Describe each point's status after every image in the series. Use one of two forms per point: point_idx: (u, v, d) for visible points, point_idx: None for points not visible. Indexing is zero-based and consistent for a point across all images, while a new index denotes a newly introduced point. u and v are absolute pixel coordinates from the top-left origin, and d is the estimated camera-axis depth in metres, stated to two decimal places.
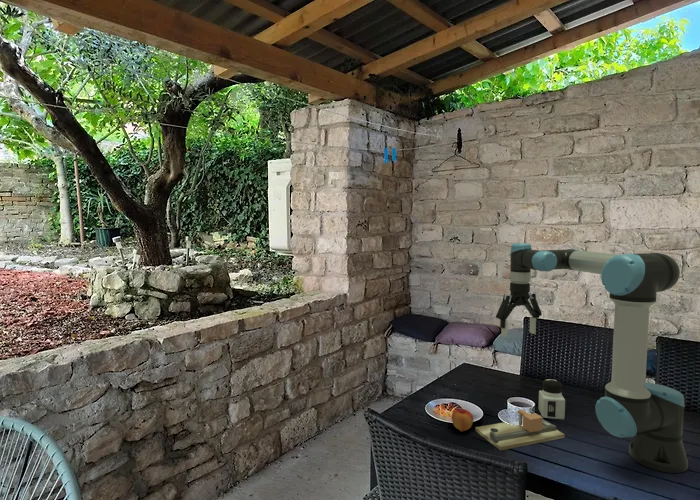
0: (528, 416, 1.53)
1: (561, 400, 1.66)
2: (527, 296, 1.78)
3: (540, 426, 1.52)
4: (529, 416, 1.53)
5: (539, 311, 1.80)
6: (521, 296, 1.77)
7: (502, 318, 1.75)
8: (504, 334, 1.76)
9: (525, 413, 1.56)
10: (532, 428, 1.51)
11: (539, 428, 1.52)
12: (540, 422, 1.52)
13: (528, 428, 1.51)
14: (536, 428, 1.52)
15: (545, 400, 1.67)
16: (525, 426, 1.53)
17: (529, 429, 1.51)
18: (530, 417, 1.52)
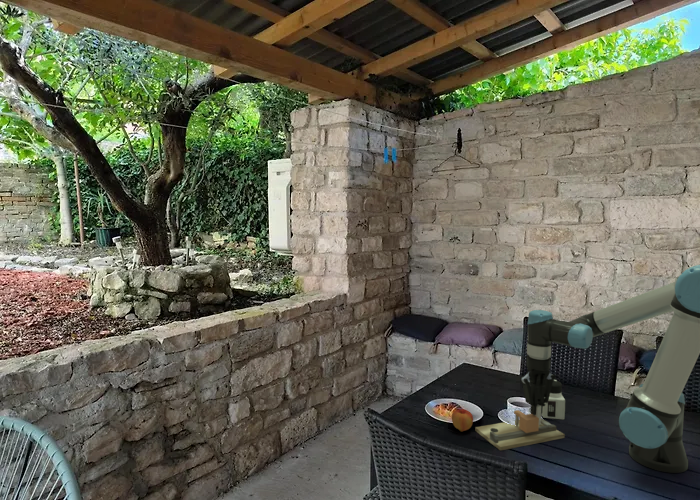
0: (524, 417, 1.52)
1: (561, 400, 1.66)
2: (547, 372, 1.52)
3: (536, 427, 1.52)
4: (525, 417, 1.52)
5: (547, 397, 1.53)
6: (540, 373, 1.51)
7: (533, 405, 1.52)
8: None
9: (521, 414, 1.56)
10: (528, 429, 1.50)
11: (536, 429, 1.52)
12: (536, 423, 1.51)
13: (525, 428, 1.51)
14: (532, 429, 1.51)
15: None
16: (521, 427, 1.52)
17: (525, 430, 1.51)
18: (526, 418, 1.52)
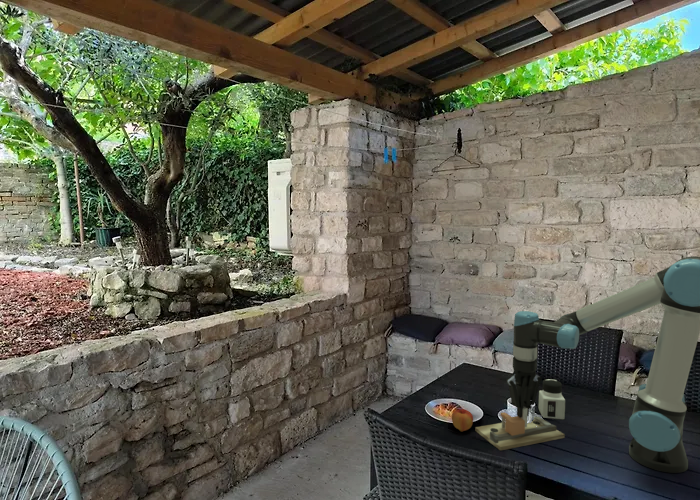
0: (510, 419, 1.51)
1: (561, 400, 1.66)
2: (533, 374, 1.51)
3: (522, 429, 1.50)
4: (511, 419, 1.51)
5: (534, 399, 1.51)
6: (526, 375, 1.50)
7: (519, 407, 1.50)
8: None
9: (508, 416, 1.54)
10: (514, 431, 1.49)
11: (522, 431, 1.50)
12: (522, 425, 1.50)
13: (511, 431, 1.49)
14: (518, 432, 1.49)
15: (545, 400, 1.67)
16: (507, 429, 1.51)
17: (511, 432, 1.49)
18: (512, 420, 1.50)
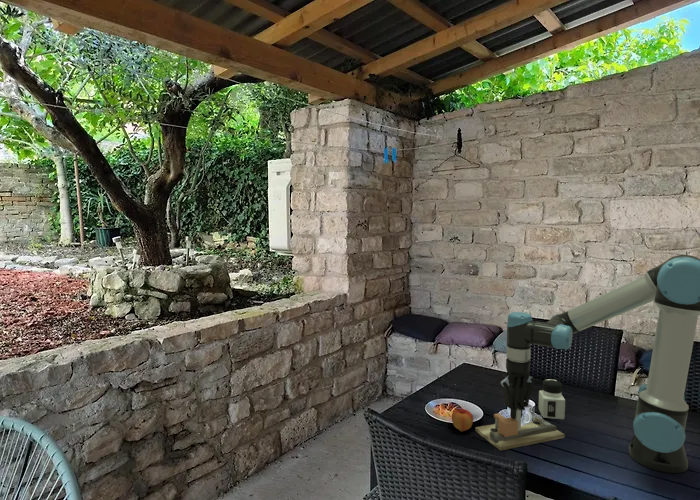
0: (503, 420, 1.50)
1: (561, 400, 1.66)
2: (527, 375, 1.50)
3: (516, 430, 1.49)
4: (504, 420, 1.50)
5: (527, 401, 1.50)
6: (519, 376, 1.49)
7: (513, 409, 1.49)
8: None
9: (501, 417, 1.53)
10: (507, 433, 1.48)
11: (515, 433, 1.49)
12: (516, 426, 1.49)
13: (504, 432, 1.48)
14: (511, 433, 1.48)
15: (545, 400, 1.67)
16: (500, 430, 1.50)
17: (504, 434, 1.48)
18: (505, 421, 1.49)
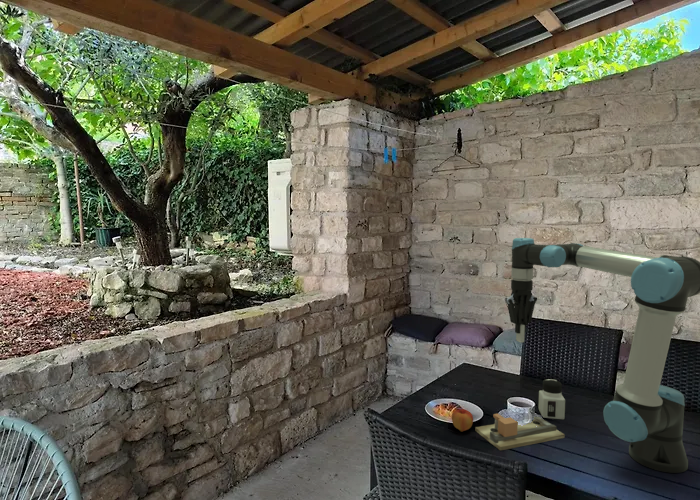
0: (503, 420, 1.50)
1: (561, 400, 1.66)
2: (530, 294, 1.67)
3: (515, 431, 1.49)
4: (504, 420, 1.50)
5: (530, 317, 1.68)
6: (523, 294, 1.66)
7: (517, 324, 1.67)
8: (519, 339, 1.68)
9: (500, 417, 1.53)
10: (506, 433, 1.48)
11: (514, 433, 1.49)
12: (515, 427, 1.49)
13: (503, 432, 1.48)
14: (510, 433, 1.48)
15: (545, 400, 1.67)
16: (500, 431, 1.50)
17: (504, 434, 1.48)
18: (505, 421, 1.49)
